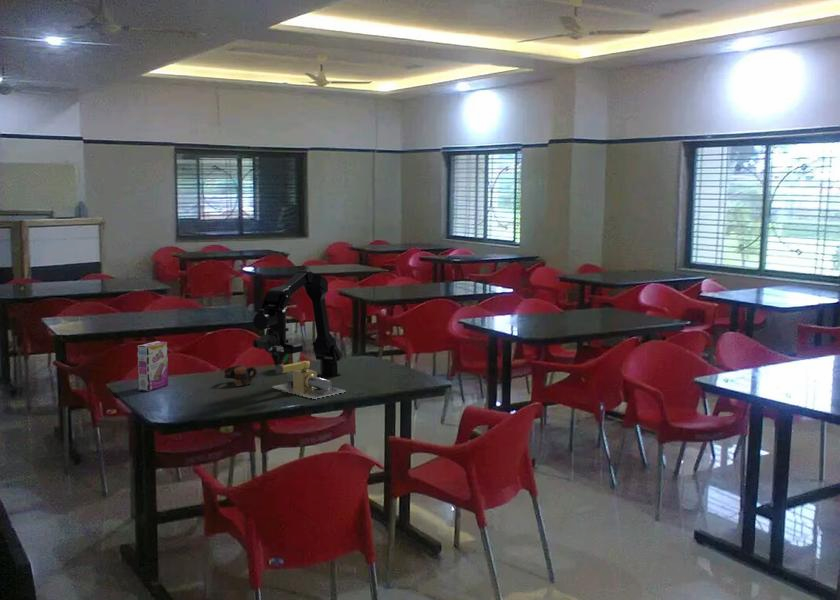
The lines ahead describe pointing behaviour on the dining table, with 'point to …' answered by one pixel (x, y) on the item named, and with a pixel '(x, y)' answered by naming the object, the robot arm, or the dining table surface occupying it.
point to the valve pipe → (308, 384)
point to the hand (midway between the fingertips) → (277, 369)
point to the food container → (292, 357)
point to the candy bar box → (152, 365)
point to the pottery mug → (240, 374)
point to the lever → (292, 367)
